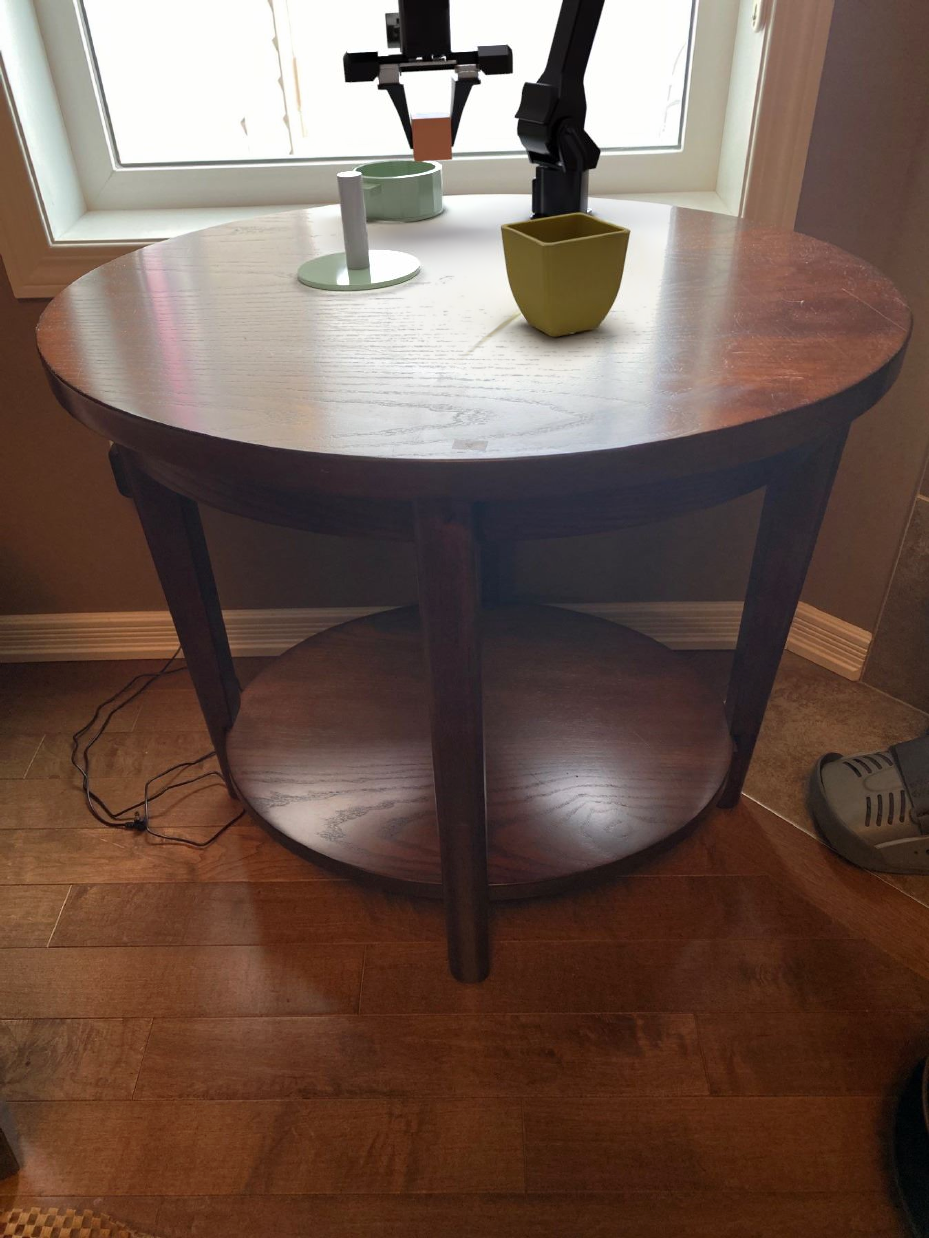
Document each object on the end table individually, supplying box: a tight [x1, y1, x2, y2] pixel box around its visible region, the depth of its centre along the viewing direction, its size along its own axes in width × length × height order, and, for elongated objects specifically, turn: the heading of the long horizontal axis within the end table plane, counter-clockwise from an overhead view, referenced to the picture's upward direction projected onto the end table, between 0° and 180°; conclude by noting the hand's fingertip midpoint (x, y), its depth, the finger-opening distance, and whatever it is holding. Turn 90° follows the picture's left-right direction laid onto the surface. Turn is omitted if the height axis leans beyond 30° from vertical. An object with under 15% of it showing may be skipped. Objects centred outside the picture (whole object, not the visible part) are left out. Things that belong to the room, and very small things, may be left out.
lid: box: [297, 171, 421, 292], centre depth 99 cm, size 14×14×11 cm
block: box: [409, 111, 453, 162], centre depth 106 cm, size 4×4×4 cm
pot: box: [347, 158, 445, 223], centre depth 125 cm, size 13×18×6 cm
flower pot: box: [500, 213, 631, 338], centre depth 84 cm, size 9×9×9 cm
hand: (431, 147), depth 107 cm, fingers closed on block, 4 cm apart
